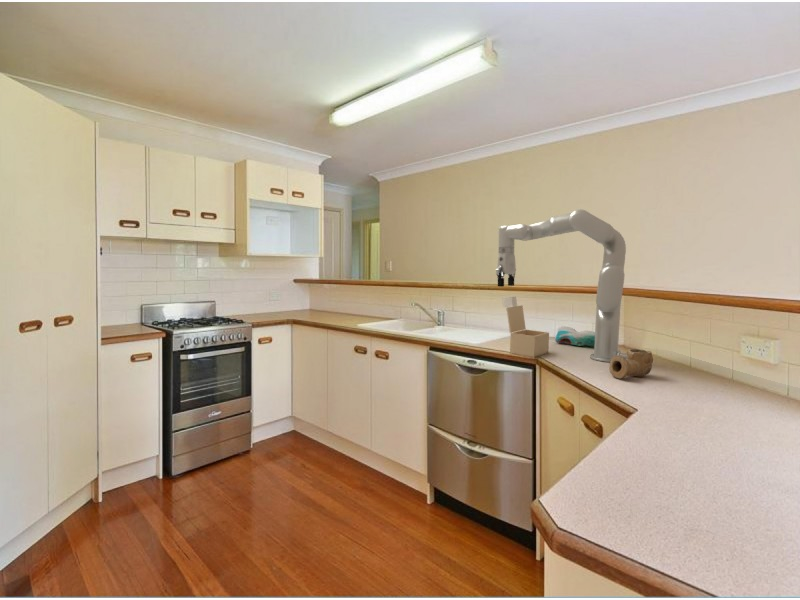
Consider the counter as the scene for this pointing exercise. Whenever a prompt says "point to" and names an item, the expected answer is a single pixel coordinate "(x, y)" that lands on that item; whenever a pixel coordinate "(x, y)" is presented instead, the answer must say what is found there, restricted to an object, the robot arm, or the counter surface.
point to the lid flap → (514, 314)
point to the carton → (529, 343)
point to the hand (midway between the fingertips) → (506, 286)
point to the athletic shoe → (575, 337)
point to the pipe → (632, 364)
